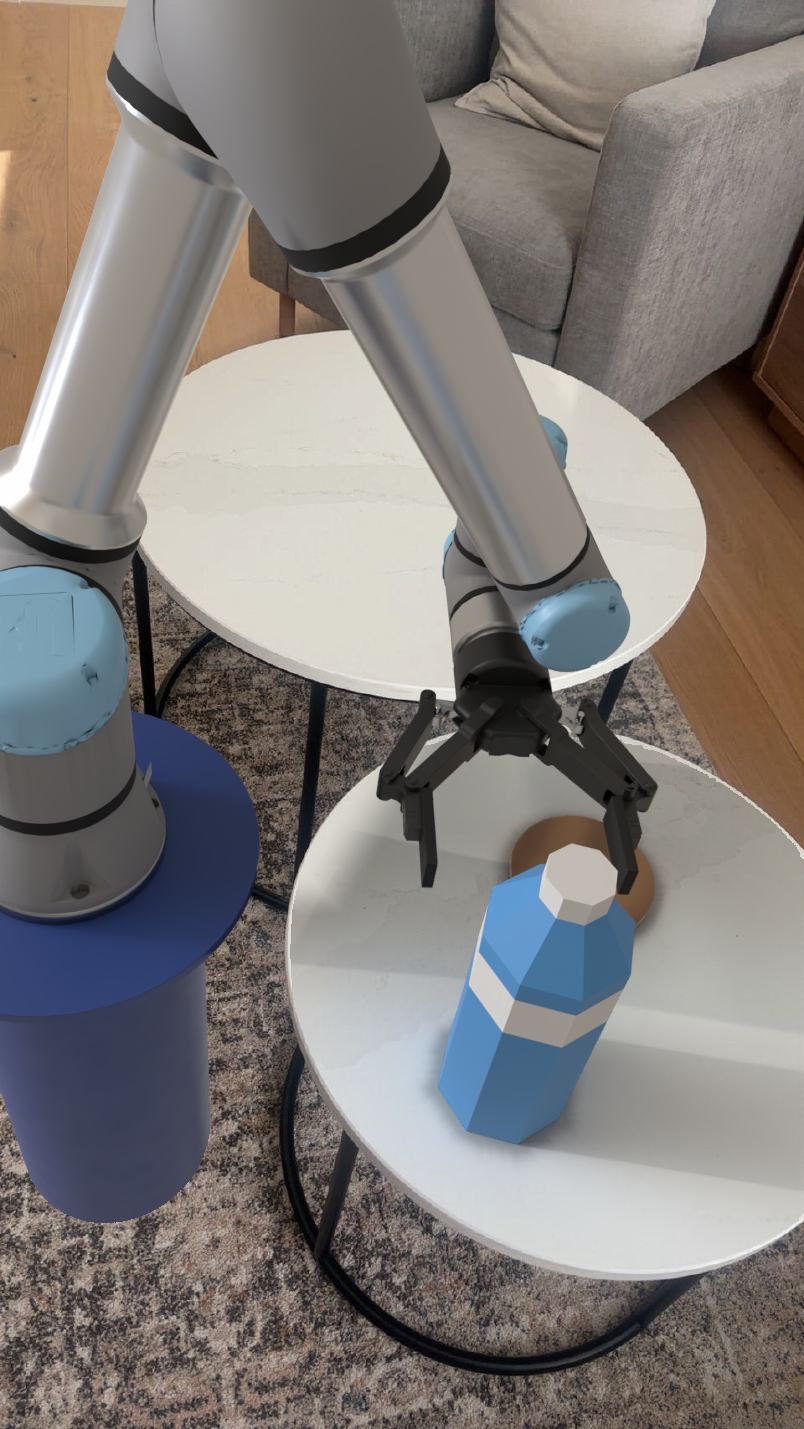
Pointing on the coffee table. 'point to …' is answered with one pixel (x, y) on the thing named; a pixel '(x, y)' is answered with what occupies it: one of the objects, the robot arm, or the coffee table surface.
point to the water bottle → (537, 994)
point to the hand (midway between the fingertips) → (529, 880)
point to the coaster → (588, 834)
